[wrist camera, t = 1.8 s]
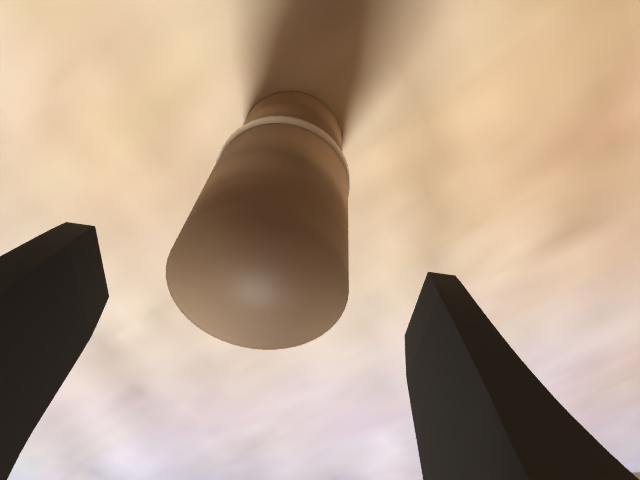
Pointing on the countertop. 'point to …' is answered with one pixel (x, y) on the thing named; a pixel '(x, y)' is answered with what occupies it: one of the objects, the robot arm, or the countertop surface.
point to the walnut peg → (269, 231)
